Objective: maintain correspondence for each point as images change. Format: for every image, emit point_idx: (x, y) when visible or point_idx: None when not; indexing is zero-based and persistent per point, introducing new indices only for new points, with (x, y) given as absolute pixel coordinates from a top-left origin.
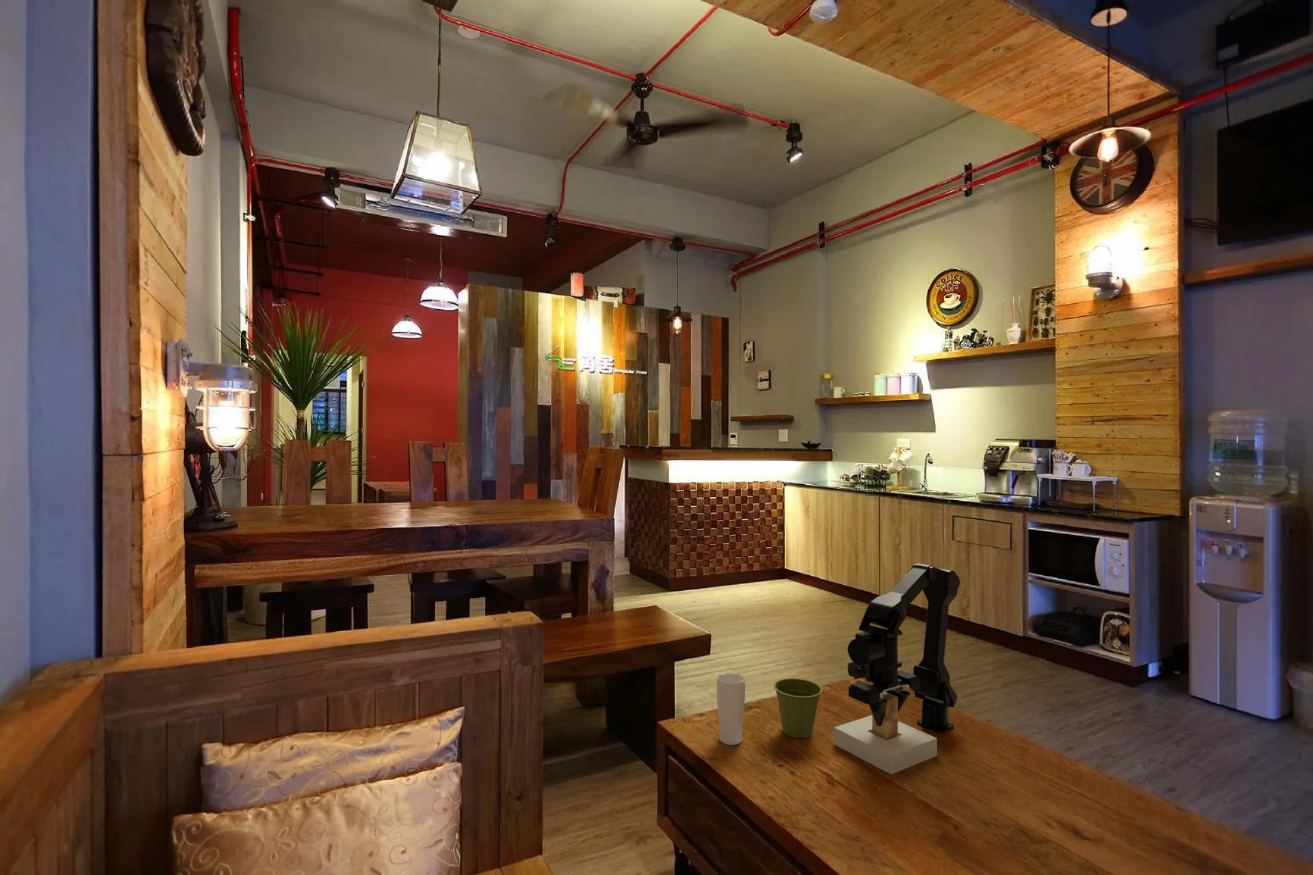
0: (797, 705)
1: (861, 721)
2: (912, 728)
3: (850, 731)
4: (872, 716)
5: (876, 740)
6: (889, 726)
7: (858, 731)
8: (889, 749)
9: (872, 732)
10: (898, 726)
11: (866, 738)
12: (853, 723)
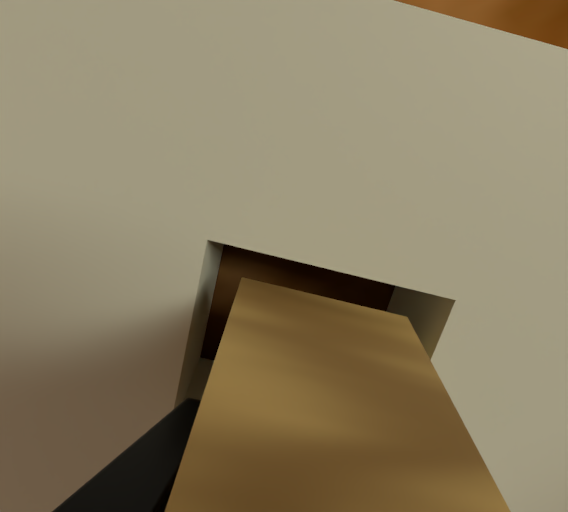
0: None
1: (402, 75)
2: (561, 498)
3: (46, 114)
4: (207, 382)
5: (91, 388)
6: None
7: (121, 182)
8: (39, 507)
9: (241, 281)
10: (529, 410)
11: (50, 310)
12: (274, 25)
